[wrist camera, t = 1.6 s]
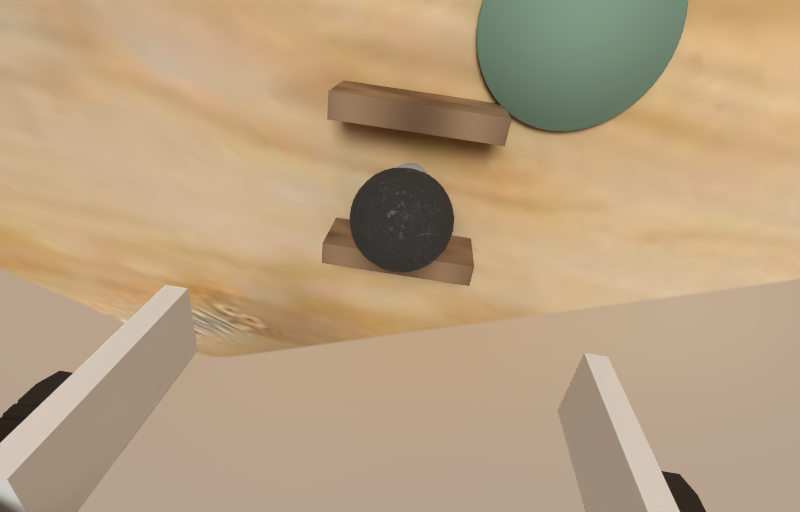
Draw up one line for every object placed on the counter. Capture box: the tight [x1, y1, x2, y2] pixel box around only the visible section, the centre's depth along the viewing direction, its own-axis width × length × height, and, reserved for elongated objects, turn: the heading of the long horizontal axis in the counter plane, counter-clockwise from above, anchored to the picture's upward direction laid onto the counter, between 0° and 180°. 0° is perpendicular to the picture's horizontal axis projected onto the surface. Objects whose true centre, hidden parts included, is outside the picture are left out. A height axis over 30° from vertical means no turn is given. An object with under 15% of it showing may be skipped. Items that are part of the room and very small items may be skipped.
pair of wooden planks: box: [322, 81, 512, 286], centre depth 27 cm, size 10×11×4 cm
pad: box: [477, 0, 688, 131], centre depth 24 cm, size 11×11×1 cm
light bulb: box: [350, 163, 454, 272], centre depth 25 cm, size 6×6×10 cm
